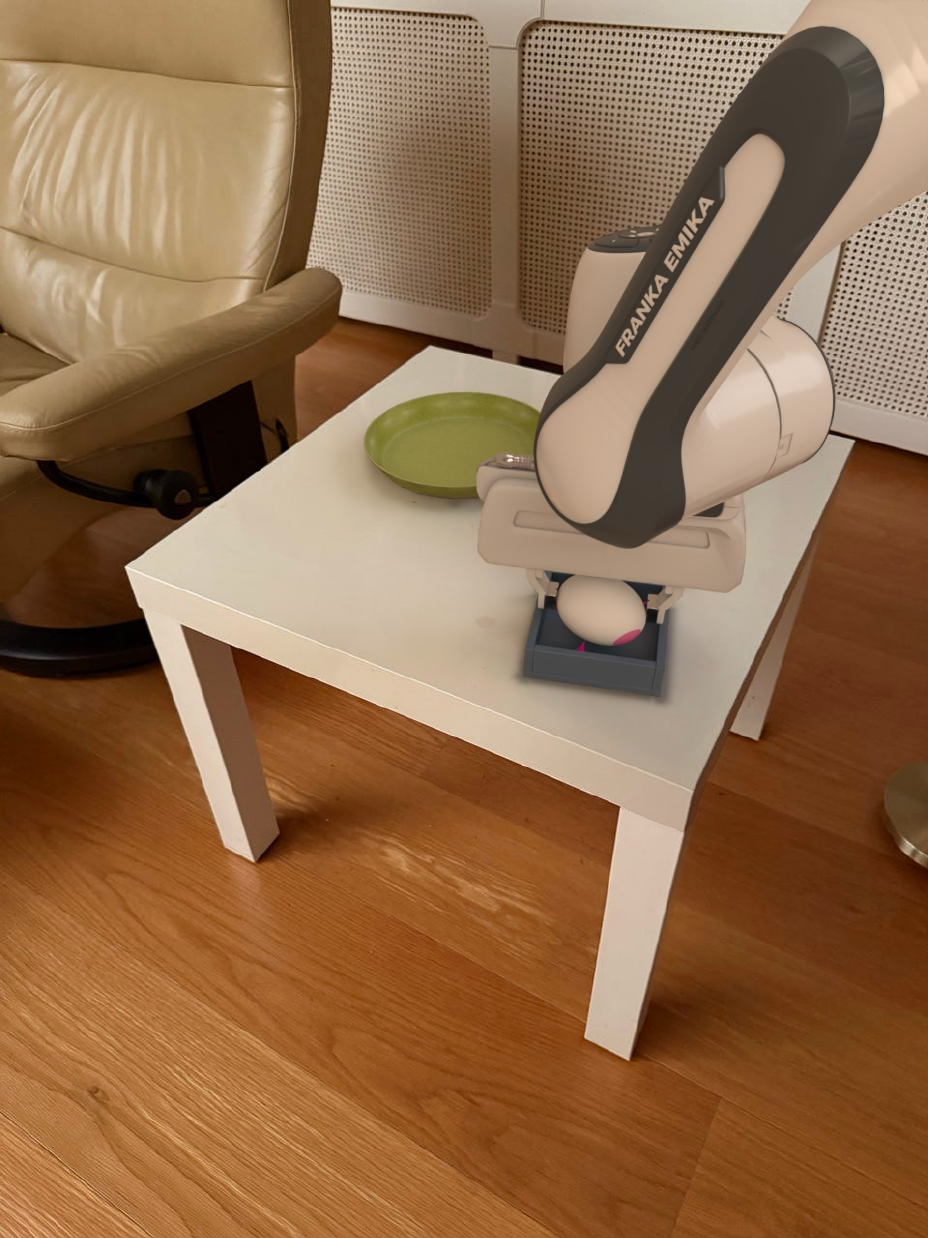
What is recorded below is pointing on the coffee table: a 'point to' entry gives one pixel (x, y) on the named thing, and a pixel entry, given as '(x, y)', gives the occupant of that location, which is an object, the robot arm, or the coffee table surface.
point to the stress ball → (600, 610)
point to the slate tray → (597, 651)
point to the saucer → (448, 439)
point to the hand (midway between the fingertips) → (600, 611)
